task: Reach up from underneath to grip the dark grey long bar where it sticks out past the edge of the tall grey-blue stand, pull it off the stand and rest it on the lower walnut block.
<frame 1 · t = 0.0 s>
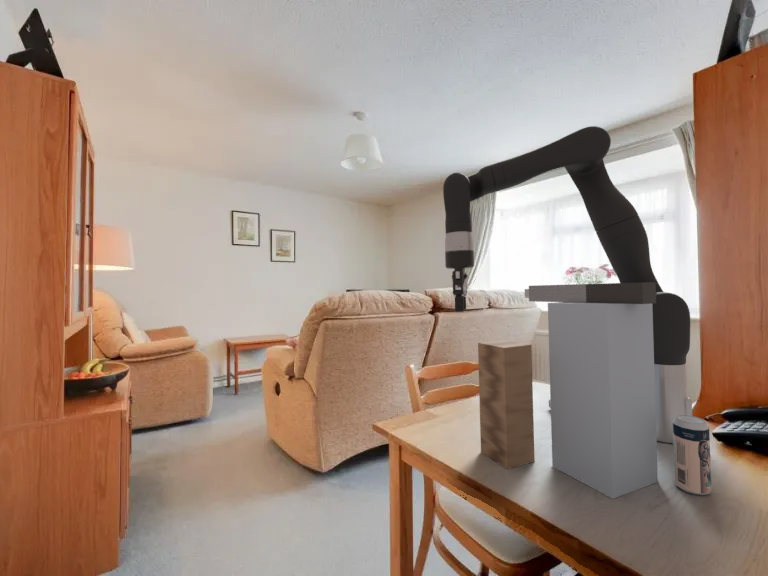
hand: (460, 310, 95), 29 cm above the table, tool pointing down, fingers open, 8 cm apart
walnut block: (506, 456, 74), on the table
cream and blue canister: (692, 490, 61), on the table
tall stand: (602, 473, 66), on the table
dark grey long bar: (583, 302, 69), point 32 cm above the table, touching tall stand
toothbrush head: (573, 427, 89), on the table
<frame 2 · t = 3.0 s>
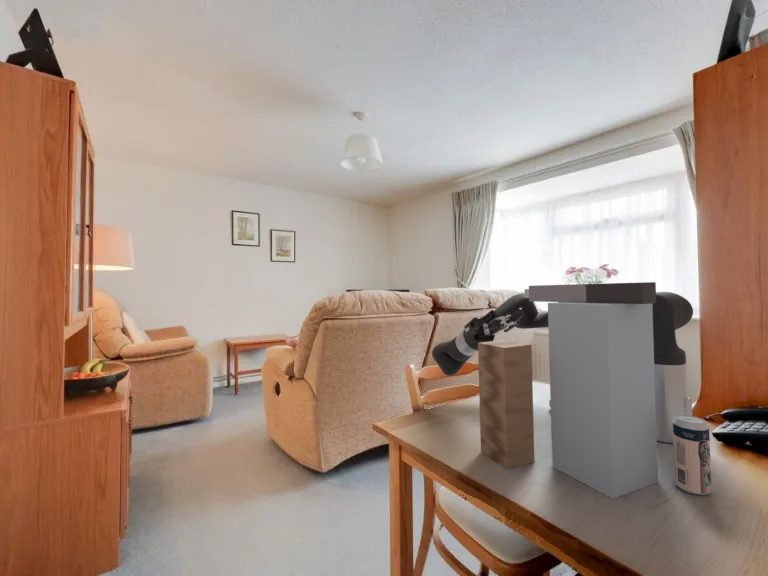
hand: (508, 312, 88), 29 cm above the table, tool pointing upward, fingers open, 8 cm apart
nothing on the table moved.
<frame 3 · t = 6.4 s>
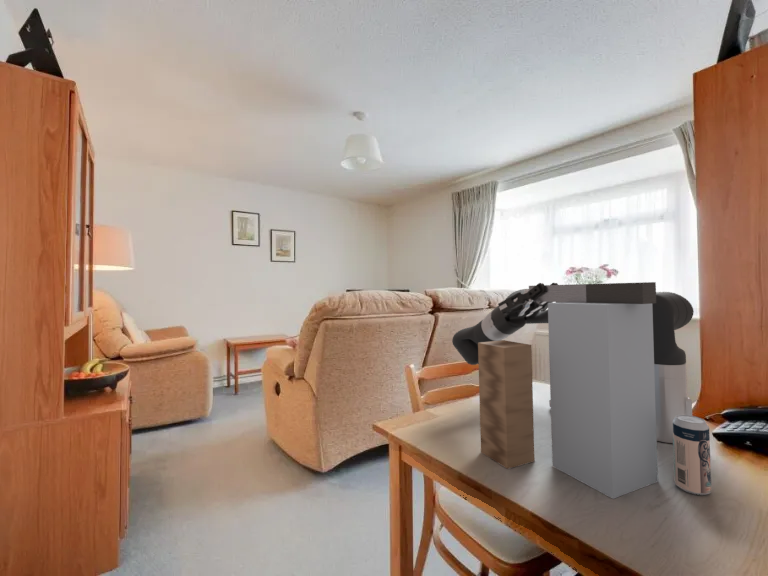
hand: (550, 286, 76), 35 cm above the table, tool pointing upward, fingers closed on dark grey long bar, 3 cm apart
dark grey long bar: (583, 302, 69), point 32 cm above the table, touching gripper, tall stand
everything else where it was.
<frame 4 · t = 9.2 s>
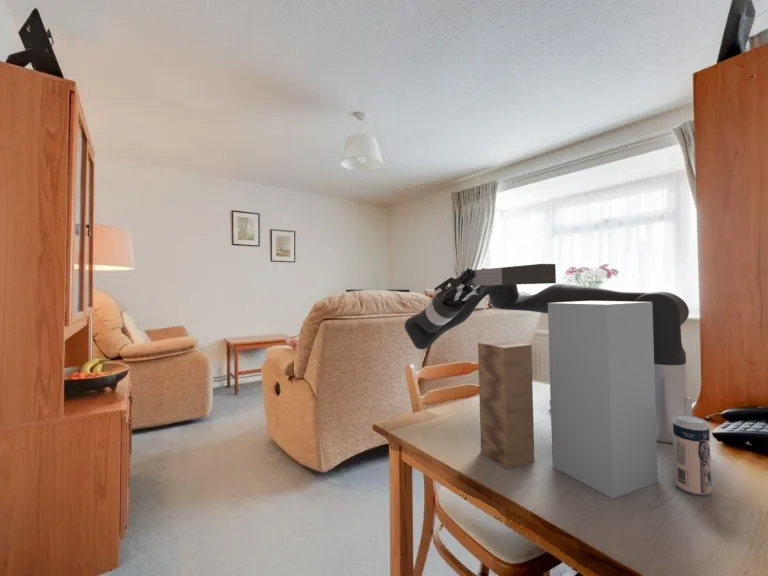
hand: (478, 271, 81), 39 cm above the table, tool pointing upward, fingers closed on dark grey long bar, 3 cm apart
dark grey long bar: (502, 284, 74), point 36 cm above the table, touching gripper
everything else where it was.
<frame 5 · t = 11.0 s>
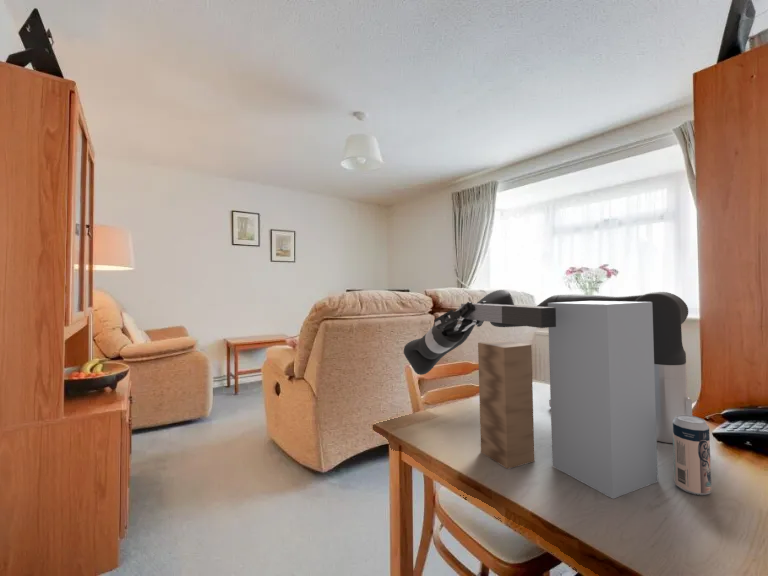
hand: (478, 305, 81), 31 cm above the table, tool pointing upward, fingers closed on dark grey long bar, 3 cm apart
dark grey long bar: (502, 321, 74), point 28 cm above the table, touching gripper
everything else where it was.
when the fingers open (27 cm above the table, at t = 12.3 s): dark grey long bar stays where it is, resting on walnut block.
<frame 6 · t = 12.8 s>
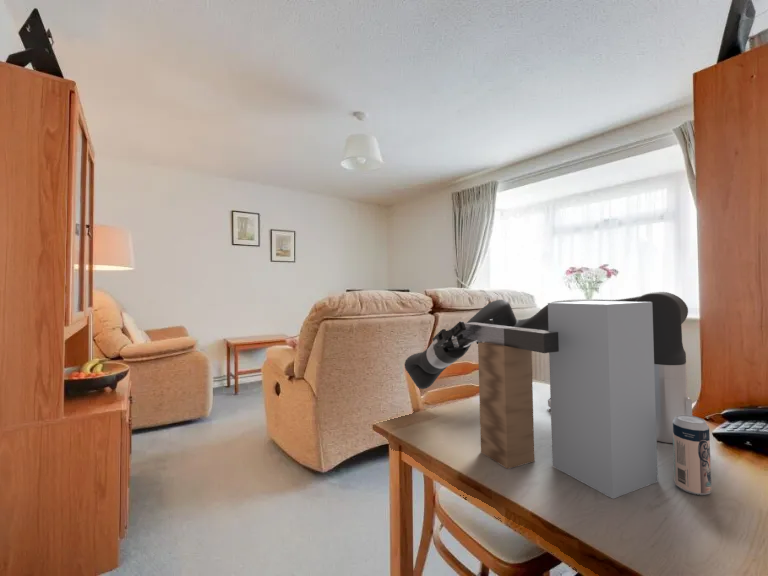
hand: (478, 323, 82), 27 cm above the table, tool pointing upward, fingers open, 8 cm apart
dark grey long bar: (504, 343, 74), point 23 cm above the table, touching walnut block
everything else where it was.
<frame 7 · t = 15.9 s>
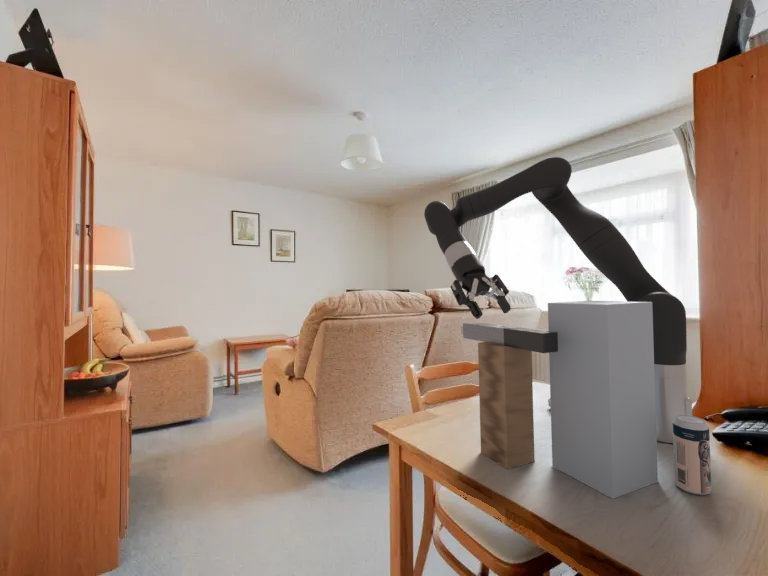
hand: (493, 314, 84), 29 cm above the table, tool tilted 35°, fingers open, 8 cm apart
nothing on the table moved.
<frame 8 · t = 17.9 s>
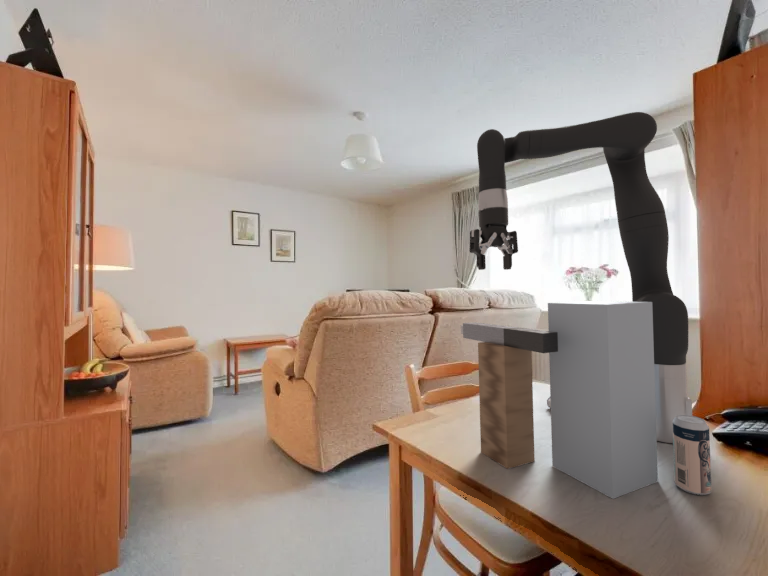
hand: (494, 269, 95), 40 cm above the table, tool pointing down, fingers open, 8 cm apart
at the end: dark grey long bar inside the target area on the walnut block (0.1 cm from its centre), point 23.5 cm above the walnut block's base; dark grey long bar touching walnut block; the gripper is holding nothing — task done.
